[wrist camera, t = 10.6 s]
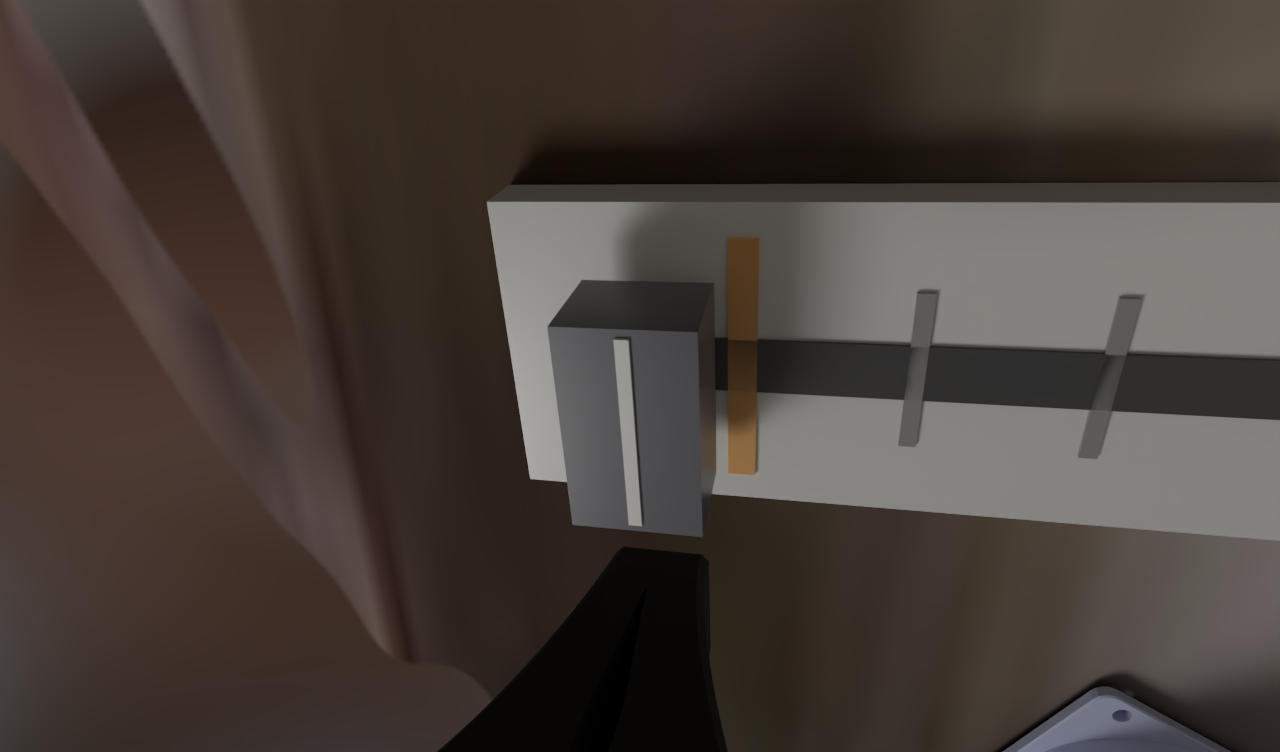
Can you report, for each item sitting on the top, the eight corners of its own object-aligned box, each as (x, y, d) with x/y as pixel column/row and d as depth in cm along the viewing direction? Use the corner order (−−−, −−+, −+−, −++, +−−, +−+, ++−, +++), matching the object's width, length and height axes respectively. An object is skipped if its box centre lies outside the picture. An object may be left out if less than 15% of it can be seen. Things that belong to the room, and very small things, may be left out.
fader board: (1468, 181, 15) (1533, 204, 14) (1319, 505, 19) (1357, 549, 17) (509, 185, 19) (485, 202, 18) (546, 449, 23) (528, 481, 22)
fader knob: (719, 268, 17) (697, 334, 14) (721, 450, 20) (702, 539, 17) (592, 265, 18) (546, 328, 15) (608, 442, 20) (571, 526, 17)
